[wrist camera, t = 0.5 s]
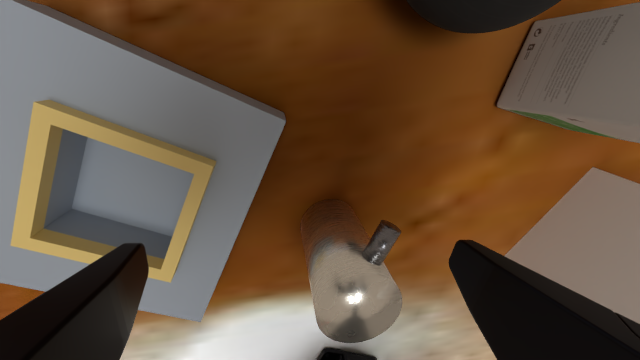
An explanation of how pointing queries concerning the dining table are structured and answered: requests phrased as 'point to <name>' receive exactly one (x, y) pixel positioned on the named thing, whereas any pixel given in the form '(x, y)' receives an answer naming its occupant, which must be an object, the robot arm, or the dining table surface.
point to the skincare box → (581, 73)
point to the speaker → (479, 13)
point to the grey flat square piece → (120, 159)
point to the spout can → (349, 272)
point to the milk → (591, 242)
